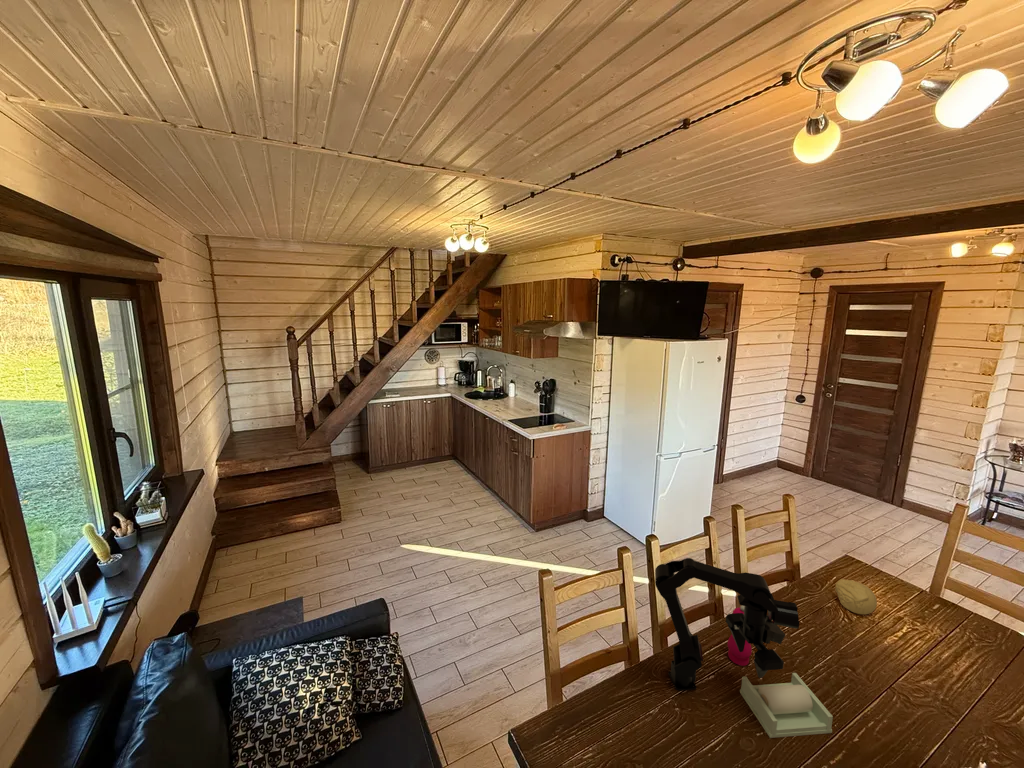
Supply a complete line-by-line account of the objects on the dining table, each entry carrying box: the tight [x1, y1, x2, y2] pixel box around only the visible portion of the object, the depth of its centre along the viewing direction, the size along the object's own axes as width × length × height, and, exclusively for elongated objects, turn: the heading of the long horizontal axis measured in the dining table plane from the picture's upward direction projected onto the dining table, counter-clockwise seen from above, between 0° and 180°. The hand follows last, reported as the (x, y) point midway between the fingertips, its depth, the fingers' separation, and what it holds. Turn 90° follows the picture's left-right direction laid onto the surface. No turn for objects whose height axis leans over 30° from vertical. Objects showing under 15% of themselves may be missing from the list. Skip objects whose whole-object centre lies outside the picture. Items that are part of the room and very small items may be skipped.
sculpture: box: [834, 578, 878, 615], centre depth 162 cm, size 11×12×11 cm
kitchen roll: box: [758, 685, 813, 715], centre depth 121 cm, size 13×6×6 cm, turn 93°
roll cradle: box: [739, 672, 834, 739], centre depth 122 cm, size 18×14×6 cm
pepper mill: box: [727, 605, 753, 667], centre depth 139 cm, size 7×7×20 cm
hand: (750, 664), depth 124 cm, fingers open, 9 cm apart
